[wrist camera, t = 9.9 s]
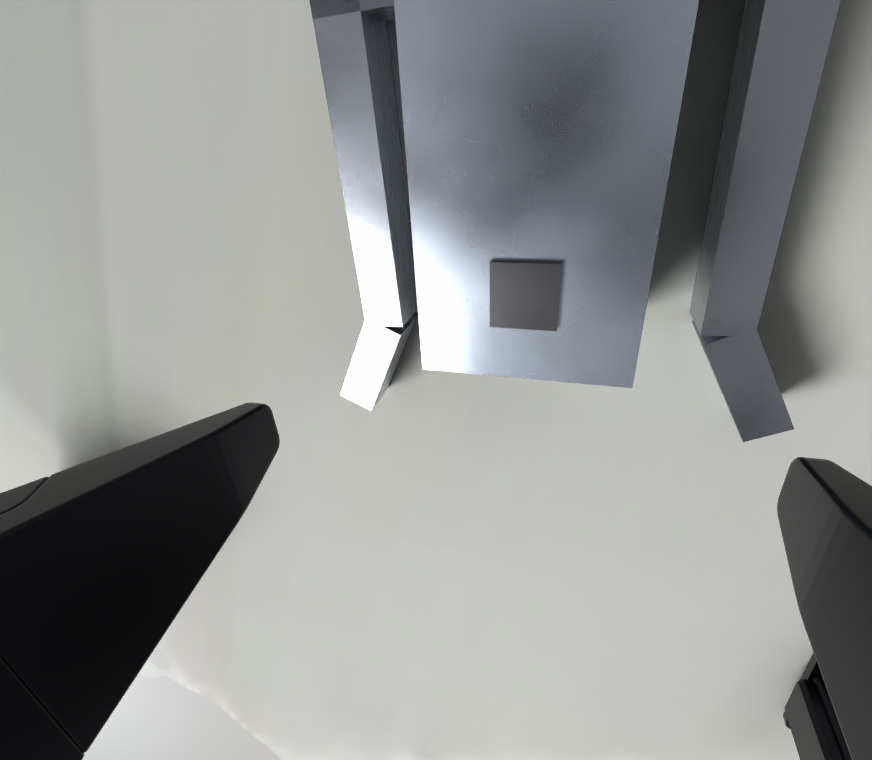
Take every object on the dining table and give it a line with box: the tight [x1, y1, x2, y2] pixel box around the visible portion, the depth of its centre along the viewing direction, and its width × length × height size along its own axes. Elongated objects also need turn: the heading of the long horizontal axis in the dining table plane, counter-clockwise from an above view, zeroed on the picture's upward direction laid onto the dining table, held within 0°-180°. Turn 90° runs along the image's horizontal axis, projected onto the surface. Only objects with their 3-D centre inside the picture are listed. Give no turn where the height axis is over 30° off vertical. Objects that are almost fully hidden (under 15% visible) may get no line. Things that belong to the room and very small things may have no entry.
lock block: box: [394, 0, 699, 388], centre depth 14 cm, size 6×9×6 cm, turn 4°
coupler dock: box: [310, 0, 841, 442], centre depth 16 cm, size 17×15×2 cm
